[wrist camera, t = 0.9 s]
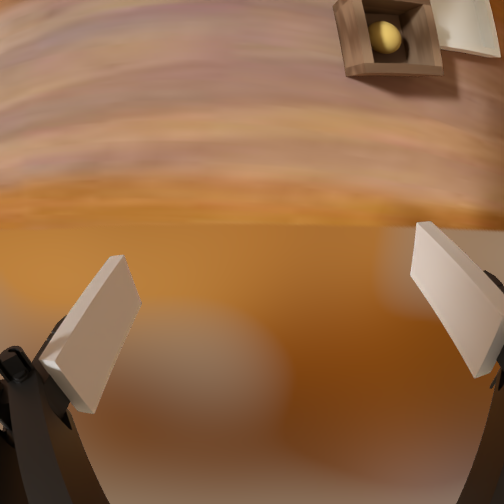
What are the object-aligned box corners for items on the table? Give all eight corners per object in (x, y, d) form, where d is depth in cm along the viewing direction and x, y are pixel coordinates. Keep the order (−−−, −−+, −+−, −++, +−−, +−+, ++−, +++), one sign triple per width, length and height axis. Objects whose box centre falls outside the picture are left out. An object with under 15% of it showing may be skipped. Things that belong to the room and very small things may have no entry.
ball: (358, 24, 26) (369, 17, 23) (389, 25, 26) (403, 19, 22) (364, 55, 28) (376, 51, 25) (395, 56, 28) (410, 52, 24)
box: (332, 6, 26) (348, -12, 20) (402, 10, 25) (429, -3, 19) (346, 76, 30) (365, 72, 24) (414, 76, 29) (444, 75, 23)
